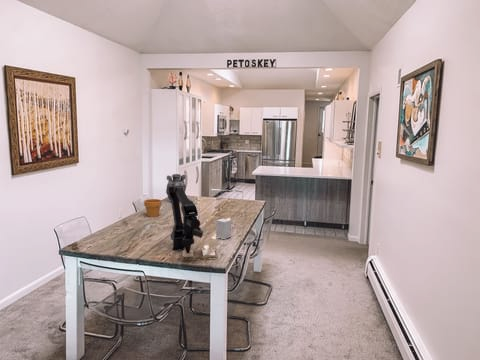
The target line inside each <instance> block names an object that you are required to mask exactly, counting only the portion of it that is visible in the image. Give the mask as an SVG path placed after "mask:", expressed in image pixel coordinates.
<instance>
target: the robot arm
mask: <svg viewBox="0 0 480 360" xmlns="http://www.w3.org/2000/svg"><path fill="white" fill-rule="evenodd" d="M165 193H166V195H167V198H168V200H169V201H170V203H171V209H172V216H173V223H174V225H173V227H172V232H171V234H170V239H171V240H172V241H173V243H172V244H173V245H172V246H173V247H172V251H183V250H185V249H186V252H187V253H189V251H190V247H191V248H192V245H194V244H195V238H194V237H197V238H199V239H202V237H203V234H204V230H202V228H201V227H200V226H201V221H200V220H199V219H198V216H199V214H198V213H199V212H198V211H199V210H198V209H197V206H196V204H195V203H194V201H193V200H191V199H189V198H188V195H187V194H186V191H185V192H184V190H183V186H173V187H168V188H167V187H166V190H165ZM179 200H180V202H181V203H179ZM180 204H181V205H180ZM182 216H183V218H182Z"/></svg>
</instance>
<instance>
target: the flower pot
mask: <svg viewBox="0 0 480 360" xmlns="http://www.w3.org/2000/svg"><path fill="white" fill-rule="evenodd" d="M162 203H163V201H162V199H159V198H158V199H157V198H151V199H144V201H143V204H144V205H143V206H144V207H145V210H146V215H147V217H148V216H149V218H156V217H158V216H159V215H160V211H161V210H160V209H161V206H162V205H163V204H162Z"/></svg>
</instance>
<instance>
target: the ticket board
mask: <svg viewBox="0 0 480 360" xmlns="http://www.w3.org/2000/svg"><path fill="white" fill-rule="evenodd" d="M192 250H193V249H192ZM193 255H194V256H191V257H184V259H185V261H195V260H194V259H209V258H217V259H218V254H217V250H216V249H197V250H196V249H195V250H193Z"/></svg>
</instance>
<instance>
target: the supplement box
mask: <svg viewBox="0 0 480 360" xmlns="http://www.w3.org/2000/svg"><path fill="white" fill-rule="evenodd" d="M215 222H216V232H215V233H216V234H215V237H219V238H223V239H225V238H228V237H231V238H232V220H231V219H227V218H220V219H216V221H215Z"/></svg>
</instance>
